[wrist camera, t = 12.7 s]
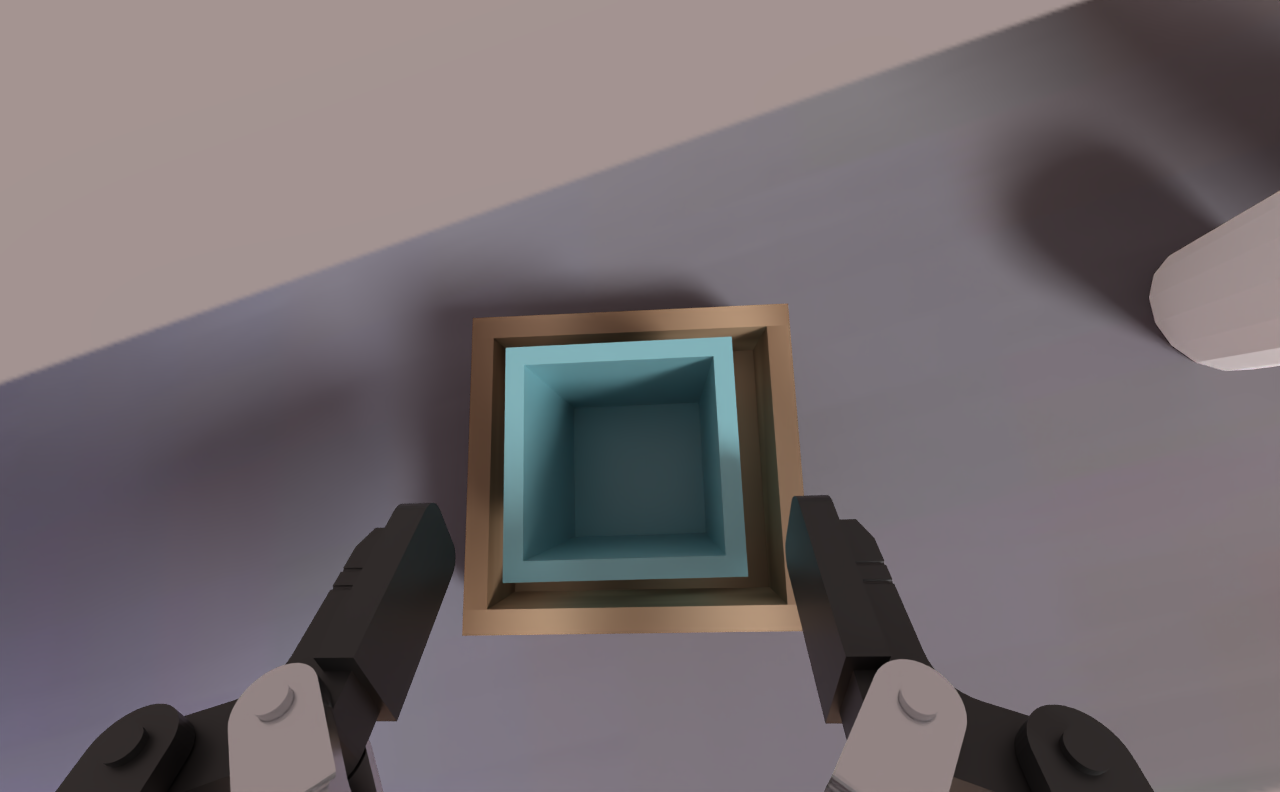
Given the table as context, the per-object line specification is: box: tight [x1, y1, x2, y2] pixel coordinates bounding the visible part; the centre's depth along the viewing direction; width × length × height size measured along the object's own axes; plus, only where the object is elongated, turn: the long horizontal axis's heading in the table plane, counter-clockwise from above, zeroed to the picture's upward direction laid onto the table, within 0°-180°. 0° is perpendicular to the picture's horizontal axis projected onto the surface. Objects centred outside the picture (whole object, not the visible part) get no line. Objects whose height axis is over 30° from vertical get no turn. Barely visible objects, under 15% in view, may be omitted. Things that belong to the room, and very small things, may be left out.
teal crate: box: [503, 337, 748, 583], centre depth 17 cm, size 6×6×8 cm
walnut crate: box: [462, 304, 804, 636], centre depth 20 cm, size 12×11×4 cm
